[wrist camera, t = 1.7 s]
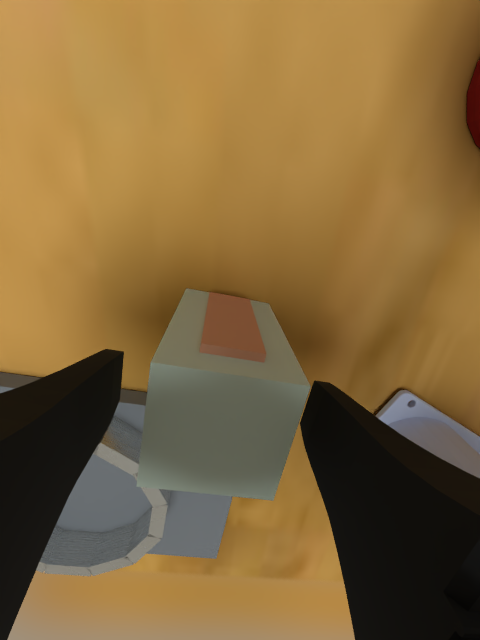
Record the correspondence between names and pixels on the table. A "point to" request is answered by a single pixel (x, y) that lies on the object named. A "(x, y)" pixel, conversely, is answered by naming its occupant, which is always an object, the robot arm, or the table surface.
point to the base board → (137, 495)
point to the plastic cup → (474, 105)
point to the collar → (117, 544)
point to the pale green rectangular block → (221, 400)
